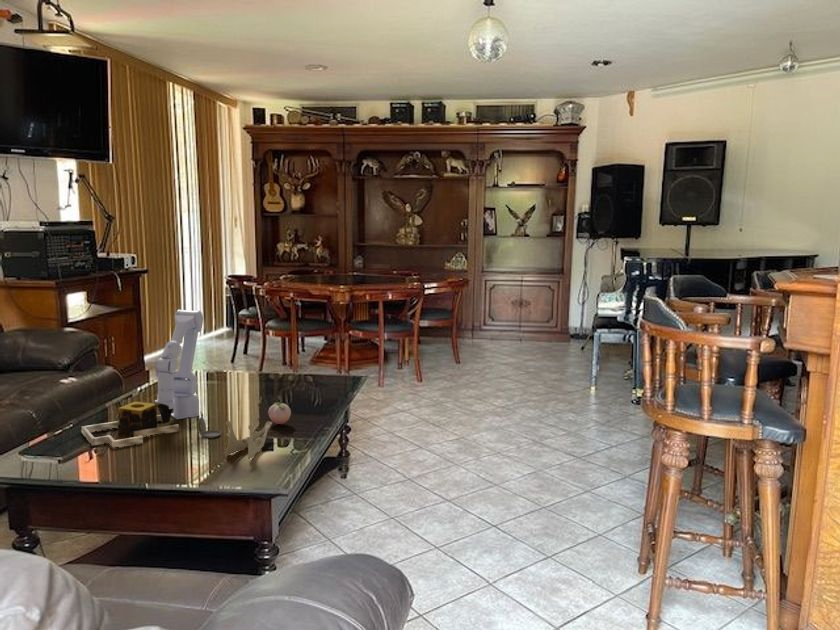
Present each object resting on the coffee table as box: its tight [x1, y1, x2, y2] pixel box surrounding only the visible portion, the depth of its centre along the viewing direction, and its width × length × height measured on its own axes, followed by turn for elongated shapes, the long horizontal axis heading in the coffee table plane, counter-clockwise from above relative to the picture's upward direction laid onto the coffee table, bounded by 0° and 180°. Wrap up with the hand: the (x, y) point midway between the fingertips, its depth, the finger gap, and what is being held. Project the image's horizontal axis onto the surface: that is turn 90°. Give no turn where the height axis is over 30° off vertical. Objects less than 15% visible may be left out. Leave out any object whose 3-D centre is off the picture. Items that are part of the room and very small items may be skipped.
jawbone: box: [224, 420, 274, 460], centre depth 219 cm, size 25×10×14 cm, turn 167°
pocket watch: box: [197, 411, 221, 439], centre depth 229 cm, size 8×8×10 cm
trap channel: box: [81, 414, 180, 449], centre depth 229 cm, size 30×29×2 cm
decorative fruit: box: [267, 401, 292, 425], centre depth 246 cm, size 9×8×10 cm
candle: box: [117, 401, 158, 436], centre depth 230 cm, size 10×10×10 cm
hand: (165, 422), depth 237 cm, fingers closed
